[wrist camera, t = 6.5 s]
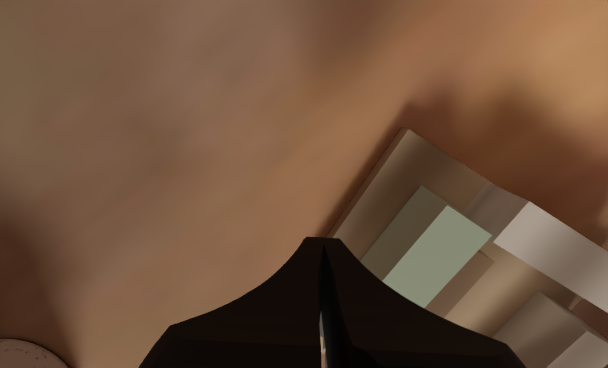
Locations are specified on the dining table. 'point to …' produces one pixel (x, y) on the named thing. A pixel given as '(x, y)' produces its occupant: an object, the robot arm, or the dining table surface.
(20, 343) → the teacup with lid
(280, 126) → the dining table surface
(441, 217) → the green rectangular block
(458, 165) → the cream shallow tray
